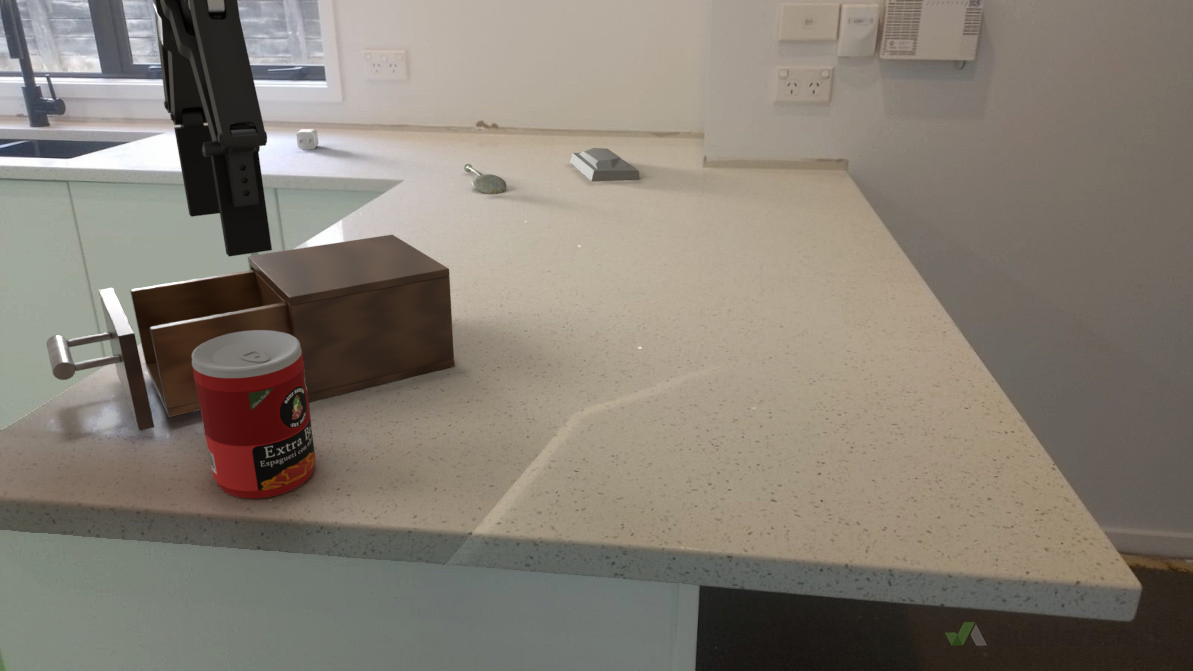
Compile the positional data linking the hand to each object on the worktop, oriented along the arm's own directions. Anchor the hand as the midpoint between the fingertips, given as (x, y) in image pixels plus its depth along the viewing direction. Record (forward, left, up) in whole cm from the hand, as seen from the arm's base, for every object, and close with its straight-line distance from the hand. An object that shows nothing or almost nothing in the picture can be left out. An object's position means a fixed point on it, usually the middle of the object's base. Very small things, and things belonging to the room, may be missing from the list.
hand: (227, 231), depth 60 cm
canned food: (0, 0, -20) cm, 20 cm away
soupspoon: (+65, +88, -20) cm, 111 cm away
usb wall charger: (+47, +142, -20) cm, 151 cm away
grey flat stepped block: (+93, +85, -20) cm, 128 cm away
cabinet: (+14, +18, -20) cm, 30 cm away
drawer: (-3, +18, -19) cm, 26 cm away
